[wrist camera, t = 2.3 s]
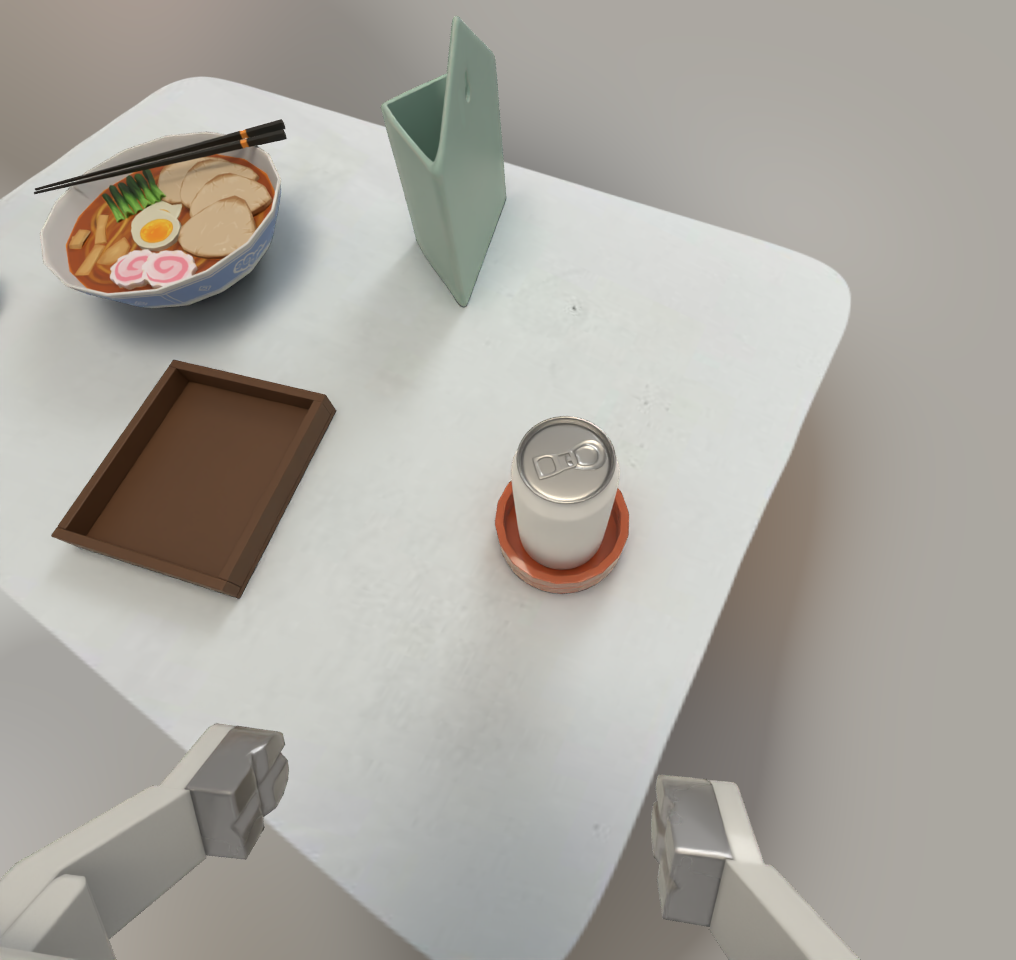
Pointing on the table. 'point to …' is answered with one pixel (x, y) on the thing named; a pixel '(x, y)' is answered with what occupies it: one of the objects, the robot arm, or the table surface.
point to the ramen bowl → (167, 218)
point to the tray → (200, 476)
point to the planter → (452, 160)
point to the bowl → (556, 578)
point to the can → (564, 490)
